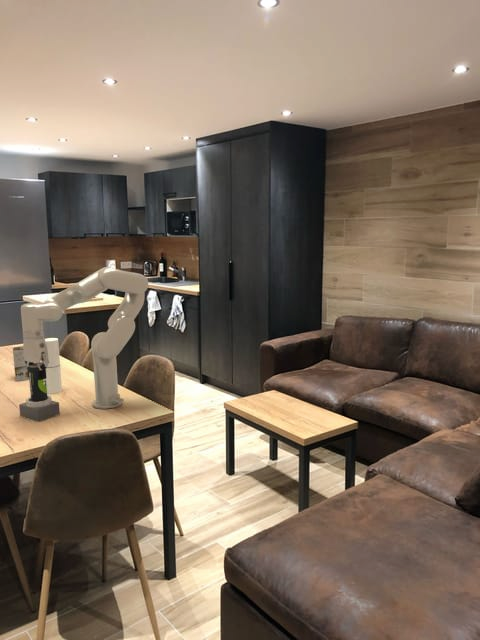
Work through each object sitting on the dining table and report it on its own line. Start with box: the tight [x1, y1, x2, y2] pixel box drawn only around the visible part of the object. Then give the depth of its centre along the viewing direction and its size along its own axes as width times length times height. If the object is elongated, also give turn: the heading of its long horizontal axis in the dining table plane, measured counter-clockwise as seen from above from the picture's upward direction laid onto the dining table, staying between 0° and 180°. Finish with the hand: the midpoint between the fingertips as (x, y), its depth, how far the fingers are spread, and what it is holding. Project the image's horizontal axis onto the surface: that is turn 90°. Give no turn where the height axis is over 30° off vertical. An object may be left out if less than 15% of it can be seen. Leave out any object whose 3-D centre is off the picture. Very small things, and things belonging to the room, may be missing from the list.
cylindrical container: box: [45, 337, 63, 395], centre depth 234 cm, size 7×7×25 cm
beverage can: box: [28, 363, 48, 402], centre depth 202 cm, size 6×6×15 cm
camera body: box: [18, 394, 61, 423], centre depth 204 cm, size 12×10×7 cm
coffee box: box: [12, 345, 29, 382], centre depth 257 cm, size 9×6×16 cm
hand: (37, 377), depth 202 cm, fingers closed on beverage can, 6 cm apart
